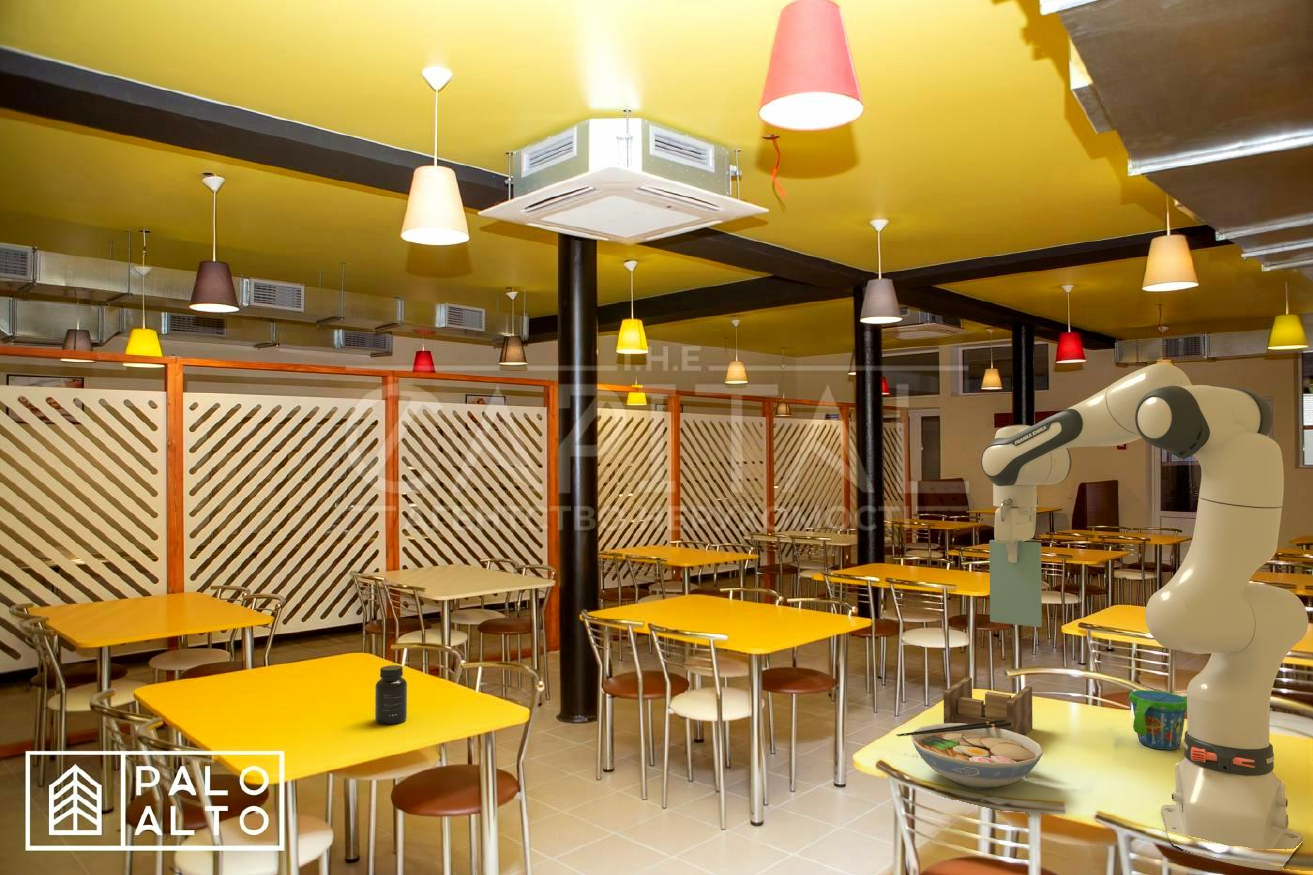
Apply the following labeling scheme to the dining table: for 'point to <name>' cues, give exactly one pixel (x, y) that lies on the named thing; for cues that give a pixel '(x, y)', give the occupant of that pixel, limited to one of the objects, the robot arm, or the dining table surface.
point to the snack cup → (1158, 718)
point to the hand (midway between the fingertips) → (1015, 561)
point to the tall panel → (1016, 585)
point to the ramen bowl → (976, 752)
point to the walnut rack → (1016, 708)
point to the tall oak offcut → (996, 705)
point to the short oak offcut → (971, 706)
